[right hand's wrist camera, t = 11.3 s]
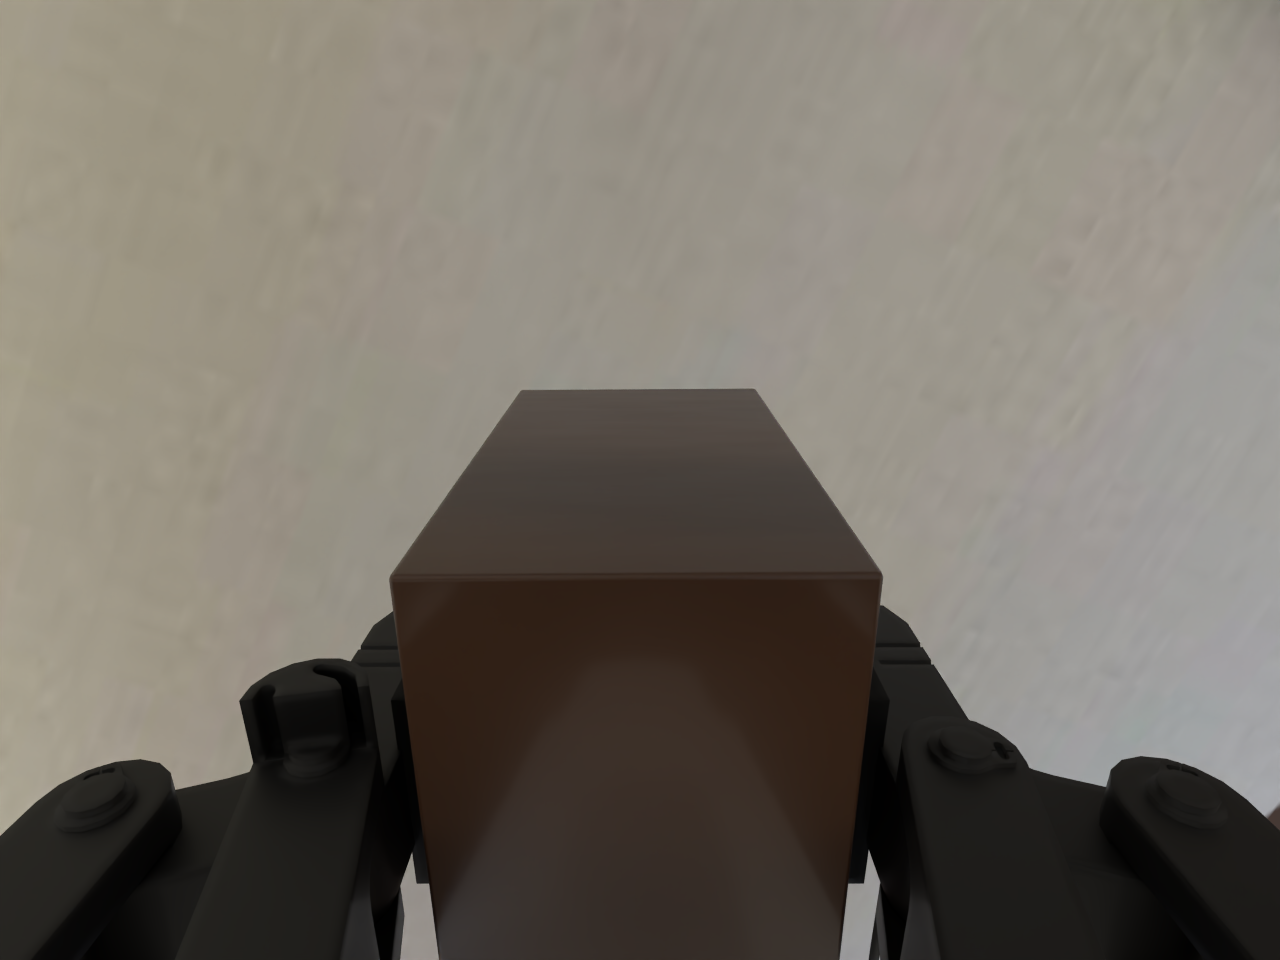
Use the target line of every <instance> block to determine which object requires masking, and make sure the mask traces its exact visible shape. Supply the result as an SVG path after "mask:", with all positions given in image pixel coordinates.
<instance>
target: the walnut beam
mask: <svg viewBox="0 0 1280 960" xmlns="http://www.w3.org/2000/svg"><path fill="white" fill-rule="evenodd" d="M389 582H390V589H391V597H392V605H393V612H394V620H395V627H396V635H397V643H398V650H399V658H400V665H401V673H402V681H403V688H404V696H405V703H406V711H407V719H408V726H409V734H410V741H411V749H412V757H413V764H414V772H415V780H416V787H417V795H418V802H419V810H420V818H421V825H422V833H423V840H424V848H425V856H426V863H427V871H428V878H429V886H430V894H431V901H432V909H433V916H434V924H435V932H436V939H437V947H438V954H439V960H839V959H840V950H841V942H842V933H843V924H844V915H845V906H846V898H847V889H848V880H849V871H850V863H851V854H852V845H853V836H854V828H855V819H856V810H857V801H858V792H859V784H860V775H861V766H862V757H863V749H864V740H865V731H866V722H867V713H868V705H869V696H870V687H871V678H872V670H873V661H874V652H875V643H876V635H877V626H878V617H879V608H880V599H881V591H882V582H883V575H882V572H881V571H880V570H879V568H878V567H877V565H876V564H875V562H874V561H873V559H872V558H871V557H870V555H869V554H868V552H867V551H866V549H865V548H864V546H863V545H862V543H861V542H860V541H859V539H858V538H857V536H856V535H855V533H854V532H853V530H852V529H851V528H850V526H849V525H848V523H847V522H846V520H845V519H844V517H843V516H842V514H841V513H840V512H839V510H838V509H837V507H836V506H835V504H834V503H833V501H832V500H831V499H830V497H829V496H828V494H827V493H826V491H825V490H824V488H823V487H822V485H821V484H820V483H819V481H818V480H817V478H816V477H815V475H814V474H813V472H812V471H811V470H810V468H809V467H808V465H807V464H806V462H805V461H804V459H803V458H802V456H801V455H800V454H799V452H798V451H797V449H796V448H795V446H794V445H793V443H792V442H791V441H790V439H789V438H788V436H787V435H786V433H785V432H784V430H783V429H782V427H781V426H780V425H779V423H778V422H777V420H776V419H775V417H774V416H773V414H772V413H771V412H770V410H769V409H768V407H767V406H766V404H765V403H764V401H763V400H762V398H761V397H760V396H759V394H758V393H757V391H756V390H755V389H633V390H522V391H520V393H519V394H518V396H517V397H516V398H515V400H514V401H513V403H512V404H511V405H510V407H509V408H508V410H507V411H506V413H505V414H504V415H503V417H502V418H501V420H500V421H499V422H498V424H497V425H496V427H495V428H494V430H493V431H492V432H491V434H490V435H489V437H488V438H487V439H486V441H485V442H484V444H483V445H482V447H481V448H480V449H479V451H478V452H477V454H476V455H475V456H474V458H473V459H472V461H471V462H470V464H469V465H468V466H467V468H466V469H465V471H464V472H463V473H462V475H461V476H460V478H459V479H458V481H457V482H456V483H455V485H454V486H453V488H452V489H451V490H450V492H449V493H448V495H447V496H446V498H445V499H444V500H443V502H442V503H441V505H440V506H439V507H438V509H437V510H436V512H435V513H434V515H433V516H432V517H431V519H430V520H429V522H428V523H427V524H426V526H425V527H424V529H423V530H422V532H421V533H420V534H419V536H418V537H417V539H416V540H415V541H414V543H413V544H412V546H411V547H410V549H409V550H408V551H407V553H406V554H405V556H404V557H403V558H402V560H401V561H400V563H399V564H398V566H397V567H396V568H395V570H394V571H393V573H392V574H391V576H390V579H389Z"/></svg>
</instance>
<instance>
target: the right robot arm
mask: <svg viewBox="0 0 1280 960" xmlns="http://www.w3.org/2000/svg"><path fill="white" fill-rule="evenodd" d="M239 702H240V706H241V711H242V715H243V719H244V724H245V728H246V733H247V737H248V741H249V746H250V750H251V754H252V759H253V765H252V768H251V770H250V772H248V773H245V774H241V775H238V776H234V777H231V778H228V779H223V780H219V781H214V782H210V783H205V784H201V785H196V786H192V787H187V788H183V789H178V790H175V787H174V783H173V780H172V776H171V773H170V772H169V771H168V770H167V769H166V768H165V767H164V766H162V765H161V764H160V763H157V762H152V761H146V760H141V759H139V760H129V761H120V762H114V763H110V764H107V765H103V766H101V767H97V768H94V769H91V770H88V771H85V772H84V773H82V774H80V775H78V776H76V777H74V778H72V779H70V780H68V781H66V782H64V783H62V784H60V785H58V786H57V787H56V788H54V789H53V790H52V791H50V792H49V793H48V794H46V795H45V796H44V797H42V798H41V799H40V800H38V801H37V802H36V803H35V804H34V805H33V806H31V807H30V808H29V809H28V810H27V811H26V812H25V813H24V814H23V815H22V816H21V817H20V818H19V819H18V820H17V821H16V822H15V823H14V824H12V825H11V826H10V827H9V828H8V829H7V830H6V831H5V832H4V833H3V834H2V835H1V836H0V960H400V954H401V944H402V935H403V925H404V909H403V901H402V895H401V888H400V885H401V882H402V879H403V876H404V873H405V871H406V868H407V865H408V862H409V859H410V856H411V853H412V854H413V861H414V868H415V875H416V882H417V884H429V878H428V871H427V863H426V856H425V848H424V840H423V833H422V825H421V818H420V810H419V802H418V795H417V787H416V780H415V772H414V764H413V757H412V749H411V741H410V734H409V726H408V719H407V711H406V703H405V696H404V688H403V681H402V673H401V665H400V658H399V650H398V643H397V635H396V627H395V620H394V612H391V613H390V614H389V615H387V616H386V617H385V618H383V619H382V620H380V621H379V622H378V623H376V624H375V625H374V626H373V627H372V629H371V631H370V632H369V634H368V635H367V637H366V638H365V640H364V642H363V643H362V645H361V650H358V651H357V653H356V654H355V656H354V657H353V659H352V661H351V662H350V661H347V660H343V659H313V660H309V661H304V662H299V663H294V664H291V665H289V666H286V667H284V668H281V669H279V670H277V671H274V672H272V673H270V674H268V675H267V676H265V677H264V678H262V679H261V680H259V681H258V682H256V683H255V684H253V685H252V686H251V687H250V688H249V689H248V691H247V692H246V693H245V694H244V696H243V697H242V698H241V699H240V701H239ZM868 851H870V854H871V857H872V860H873V862H874V865H875V868H876V871H877V874H878V877H879V879H880V888H879V895H878V901H877V908H876V914H875V921H874V927H873V934H872V940H871V947H870V955H869V960H879V956H880V960H1280V830H1278V829H1277V828H1276V827H1275V826H1274V825H1273V824H1272V823H1271V822H1270V821H1269V820H1268V819H1267V818H1266V817H1265V816H1264V815H1262V814H1261V813H1260V812H1259V811H1258V810H1257V809H1256V808H1255V807H1254V806H1253V805H1252V804H1251V803H1250V802H1249V801H1248V800H1246V799H1245V798H1244V797H1243V796H1241V795H1240V794H1239V793H1237V792H1236V791H1235V790H1233V789H1232V788H1231V787H1229V786H1228V785H1227V784H1225V783H1224V782H1222V781H1220V780H1218V779H1216V778H1214V777H1212V776H1210V775H1208V774H1207V773H1205V772H1203V771H1201V770H1199V769H1197V768H1194V767H1191V766H1188V765H1186V764H1181V763H1179V762H1175V761H1172V760H1168V759H1163V758H1153V757H1143V756H1140V757H1135V758H1130V759H1124V760H1121V761H1120V762H1119V763H1118V764H1117V765H1116V766H1115V767H1114V768H1112V769H1111V772H1110V775H1109V779H1108V782H1107V786H1106V787H1103V786H1099V785H1094V784H1090V783H1085V782H1080V781H1076V780H1071V779H1067V778H1062V777H1058V776H1053V775H1050V774H1047V773H1043V772H1040V771H1036V770H1033V769H1031V768H1029V767H1028V764H1027V762H1026V760H1025V759H1024V758H1023V756H1022V755H1021V753H1020V752H1019V750H1018V749H1017V747H1016V746H1015V745H1014V744H1012V743H1011V742H1010V741H1008V740H1007V739H1006V738H1005V737H1003V736H1002V735H1001V734H1000V733H998V732H996V731H994V730H992V729H990V728H988V727H986V726H984V725H981V724H979V723H977V722H974V721H970V720H969V719H968V718H967V716H966V715H965V713H964V712H963V710H962V708H961V707H960V705H959V704H958V702H957V701H956V699H955V697H954V696H953V694H952V693H951V691H950V690H949V688H948V686H947V685H946V683H945V682H944V680H943V679H942V677H941V675H940V674H939V672H938V671H937V669H936V668H935V666H934V665H931V660H930V658H929V657H928V655H927V653H926V652H925V650H924V649H923V647H920V642H919V641H918V639H917V638H916V636H915V635H914V633H913V631H912V630H911V628H910V627H909V625H908V624H907V623H906V622H905V621H904V620H902V619H901V618H900V617H898V616H897V615H895V614H894V613H893V612H891V611H890V610H888V609H887V608H886V607H884V606H880V608H879V617H878V626H877V635H876V643H875V652H874V661H873V670H872V678H871V687H870V696H869V705H868V713H867V722H866V731H865V740H864V749H863V757H862V766H861V775H860V784H859V792H858V801H857V810H856V819H855V828H854V836H853V845H852V854H851V863H850V871H849V880H848V883H864V879H865V872H866V865H867V858H868Z"/></svg>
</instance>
